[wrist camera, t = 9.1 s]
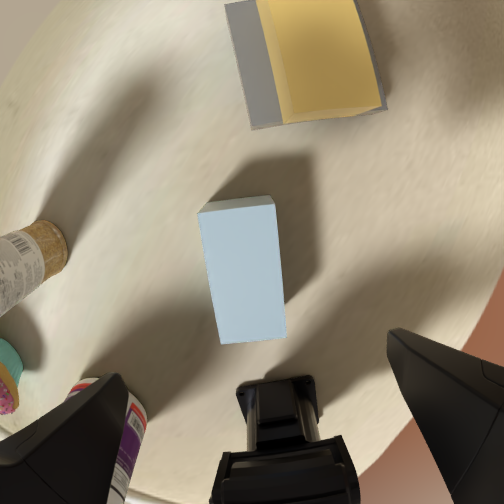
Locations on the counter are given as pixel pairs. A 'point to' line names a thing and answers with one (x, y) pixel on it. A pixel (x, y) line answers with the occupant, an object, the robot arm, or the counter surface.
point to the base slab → (268, 65)
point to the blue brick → (244, 268)
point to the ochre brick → (318, 59)
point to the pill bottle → (123, 443)
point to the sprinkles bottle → (29, 260)
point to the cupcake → (9, 377)
